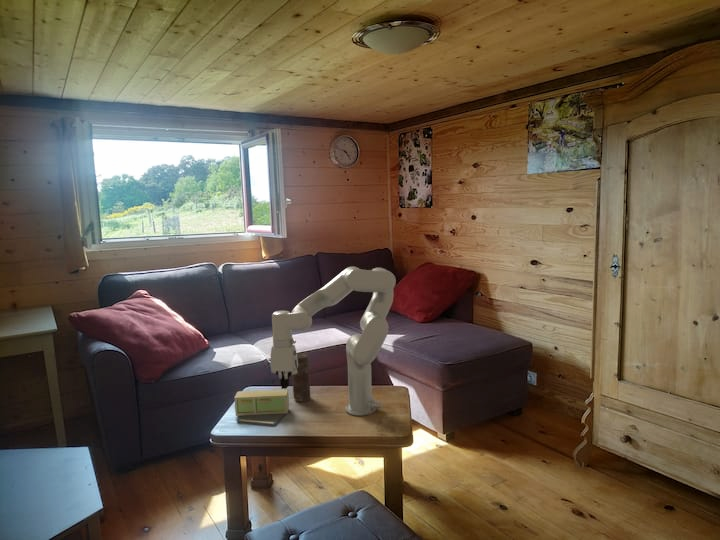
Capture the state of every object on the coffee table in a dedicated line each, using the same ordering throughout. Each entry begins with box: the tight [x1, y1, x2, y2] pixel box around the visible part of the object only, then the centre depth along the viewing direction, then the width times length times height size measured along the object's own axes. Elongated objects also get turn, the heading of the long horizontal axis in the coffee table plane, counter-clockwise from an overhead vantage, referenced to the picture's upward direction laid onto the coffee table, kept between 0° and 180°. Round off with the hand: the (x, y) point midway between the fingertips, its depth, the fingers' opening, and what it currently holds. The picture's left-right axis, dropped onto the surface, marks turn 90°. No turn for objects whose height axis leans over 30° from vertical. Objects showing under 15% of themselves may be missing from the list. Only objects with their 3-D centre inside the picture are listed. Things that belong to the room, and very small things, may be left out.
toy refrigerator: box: [234, 388, 290, 417], centre depth 201 cm, size 8×7×21 cm
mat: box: [236, 413, 287, 427], centre depth 198 cm, size 16×14×1 cm
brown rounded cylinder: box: [291, 353, 311, 403], centre depth 214 cm, size 8×7×20 cm
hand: (285, 387), depth 194 cm, fingers closed
